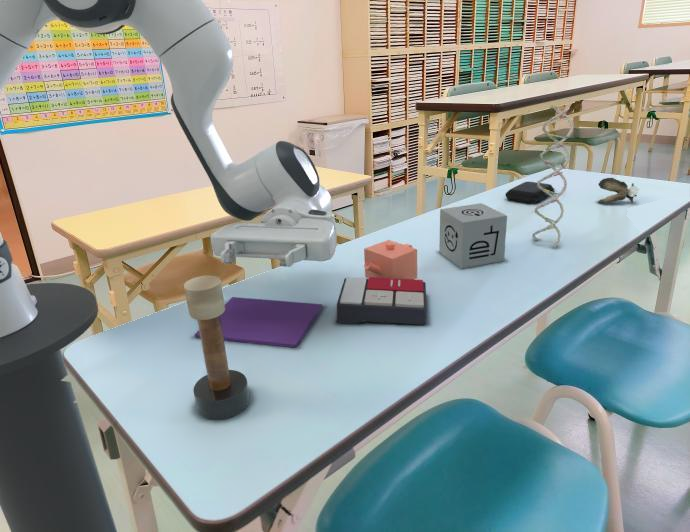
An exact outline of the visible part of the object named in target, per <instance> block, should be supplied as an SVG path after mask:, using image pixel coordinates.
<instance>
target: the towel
mask: <svg viewBox="0 0 690 532" xmlns="http://www.w3.org/2000/svg"><path fill="white" fill-rule="evenodd" d="M322 309H323V304H322V303H314V302H313V303H312V302H301V301H299V302H298V301H287V300H274V299H273V300H272V299H262V298H251V297H250V298H249V297H238V296H237V297H236V296H233V297H231V298H230V299H229V300H228V301H227V302H225V311H224V313H223V314H221V315H220V320H221V326H222V332H223V338H224V341H229V342H236V343H238V342H239V343H249V344H255V345H256V344H258V345H267V346H277V347H285V348H286V347H287V348H297V347H298V346H299V344H300V342H301V341H302V340H303V338H304V337H305V336H306V334H307V332H308V330H309V329H310V327H311V326H312V324H313V323H314V321H315V320H316V318H317V317H318V315H319V313H320V312H321V310H322ZM194 338H199V339H201V338H200V333H199V330H197V331H196V333H195V334H194Z"/></svg>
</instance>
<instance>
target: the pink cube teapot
mask: <svg viewBox="0 0 690 532" xmlns="http://www.w3.org/2000/svg"><path fill="white" fill-rule="evenodd" d="M363 257H364V265H363V268H364V278H366V279H369V277H375V278H395V279H414V280H417V278H418V249H417V248H414V247H413V245H412V244H410V243H404V244H403V243H399V242H397V241H393V240H390V239H387V240H383V241H382V242H379V243H376V244H373V245H371V246H368V247H365V248H363Z"/></svg>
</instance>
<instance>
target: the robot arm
mask: <svg viewBox="0 0 690 532" xmlns="http://www.w3.org/2000/svg"><path fill="white" fill-rule="evenodd" d="M53 21H61V22H63V23H65V24H68V25H69V26H71V27H73V28H74V29H76V30H79V31H81V32H85V33H90V34H96V35H110V34H113V33H117V32H118V31H120V30H122V29H123V28H124V27H125V26H126V27H129V28H132V29H133V30H135V31H136V32H137V33H138V34H139V35H140V36H141V37H142V38H143V39H144V40H145V41H146V43H147V44H148V45H149V47H150V48H151V50H152V51H153V52H154V54H155V55H156V57H157V58H158V59H159V61H160V62H161V64H162V65H163V67H164V70H165V71H166V73H167V76H168V78H169V81H170V85H171V91H172V92H171V96H170V104H171V107H172V111H173V113H174V115H175V117H176V119H177V121H178V124H179V125H180V127H181V129H182V131H183V133H184V135H185V137H186V139H187V141H188V142H189V144H190V146H191V148H192V150H193V151H194V153H195V156H196V157H197V159H198V160H199V162H200V164H201V165H202V168H203V169H204V171H205V173H206V175H207V177H208V179H209V181H210V183H211V186H212V187H213V190H214V193H215V197H216V199H217V201H218V204H219V205H220V207H221V208H222V210H223V211H224V212H225V213H226V214H228V215H229V216H231V217H233V218H235V219H237V220H240V222H233V223H229V224H227V225H225V226H223V227H221V228H219V229H217V230H215V231H214V232H212V233H211V235H210V245H211V250H212V252H213V254H214V256H216V257H220V260H221V263H222V264H233V263H234V262H236V261H237V259H236V258H251V259H252V258H253V259H269V260H270V259H271V260H279V266H280V267H286V268H287V267H288V268H290V267H291V266H292V265H293V264H296V263H299V262H302V261H310V262H311V261H312V262H327V261H330V260H332V259H333V257H334V256H335V253H336V251H337V250H336V249H337V225H336V219H335V215H334V213H333V200H332V196H331V194H330V192H329V191H328V189H326V188H325V186H323V185H321V183H320V176H319V173H318V171H317V169H316V166H315V164H314V162H313V160H312V159H311V157H310V155H309V154H308V153H307V152H306V151H305V150H304V149H303V148H301V147H299V146H298V145H296V144H294V143H292V142H289V141H285V140H279V141H277V142H275V143H273V144H272V145H270V146H268V147H266V148H265V149H262V151H259V152H258V153H257V154H255V155H253V156H252V157H250V158H248V159H246V160H245V161H243V162H241V163H239V164H238V163H235V162H234V161H233V159H232V158H231V156H230V154H229V152H228V150H227V148H226V146H225V144H224V143H223V141H222V139H221V137H220V135H219V133H218V131H217V129H216V127H215V124H214V121H213V113H214V108H215V106H216V103H217V101H218V99H219V98H220V96H221V94H222V93H223V91H224V90H225V88H226V86H227V85H228V83H229V80H230V79H231V75H232V72H233V67H234V51H233V48H232V45H231V43H230V41H229V39H228V38H227V36H226V34H225V32H224V30H223V29H222V28H221V26H220V24H219V23H218V21H217V20H216V19H215V17H214V15H213V14H212V13H211V11H210V9H209V8H208V7H207V5H206V4H205V3H204V1H203V0H0V94H1V93H2V91H3V90H4V88H5V86H6V85H7V83H8V81H9V80H10V79H11V77H12V75H13V73H14V72H15V71H16V69H17V67H18V66H19V65H20V63H21V61H22V60H23V58H24V56H25V55H26V54H27V52H28V50H29V48H30V47H31V46H32V44H33V42H34V41H35V39H36V38H37V36H38V35H39V33H40V32H41V30H42V29H43V28H44V27H45V26H46V25H48V23H51V22H53ZM267 210H268V211H267ZM266 211H267V212H266ZM265 212H266V213H265ZM263 213H265V214H264V215H263V217H262V219H261V221H260V222H248V221H253V220H255V218H258V217H259V216H260V215H261V214H263ZM241 221H245V222H241ZM11 253H12V252H11V248H10V247H9V244H8V242H7V241H6V240H5V239H3V236H2V231H0V338H1V337H4V336H6V335H9V334H11V333H13V332H15V331H18V330H19V329H21V328H23V327H25V326H26V325H28V324H29V323H30V322H32V321H33V320H34V319H35V318H36V316H37V314H38V310H37V309H36V307H35V305H36V303H37V300H36V298H35V296H31V295H30V293H29V291H28V289H27V286H26V285H27V284H26V282H25V279H24V278H23V275H22V273H21V271H20V269H19V267H18V266H17V265H16V264H14V263H13V259H14V258H13V255H12V254H11Z"/></svg>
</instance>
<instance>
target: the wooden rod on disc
mask: <svg viewBox="0 0 690 532" xmlns="http://www.w3.org/2000/svg"><path fill="white" fill-rule="evenodd" d="M183 288H184V295H185V299H186V305H187V310H188V315H189V317H190V318H191V319H192V320H196V321H197V328H198V331H199V333H200V338H199V339H200V344H201V348H202V354H203V360H204V365H205V370H206V374H205V375H203V376H201V378H200V379H198V380H197V381H196V382H195V384H194V386H193V391H192V392H193V397H194V402H195V406H196V411H197V413H198V414H199V415H200V416H201V417H202V418H204V419H207V420H211V421H222V420H227V419H230V418H233V417H235V416H237V415H239V414H240V413H242V412H243V411H245V410H246V408H247V407H248V405H249V403H250V391H249V385H248V379H247V377H246V375H245V374H243V373H242V372H241V371H238V370H236V369H235V370H234V369H229V363H228V357H227V349H226V344H225V340H224V338H223V332H222V326H221V320H220V315H221V314H223V313H224V311H225V304H226V302H225V298H224V292H223V285H222V280H221V278H220V277H219V276H216V275H200V276H196V277H192V278H191V279H190V278H189V279H188V280H186V281H185V282H184V284H183Z"/></svg>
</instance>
